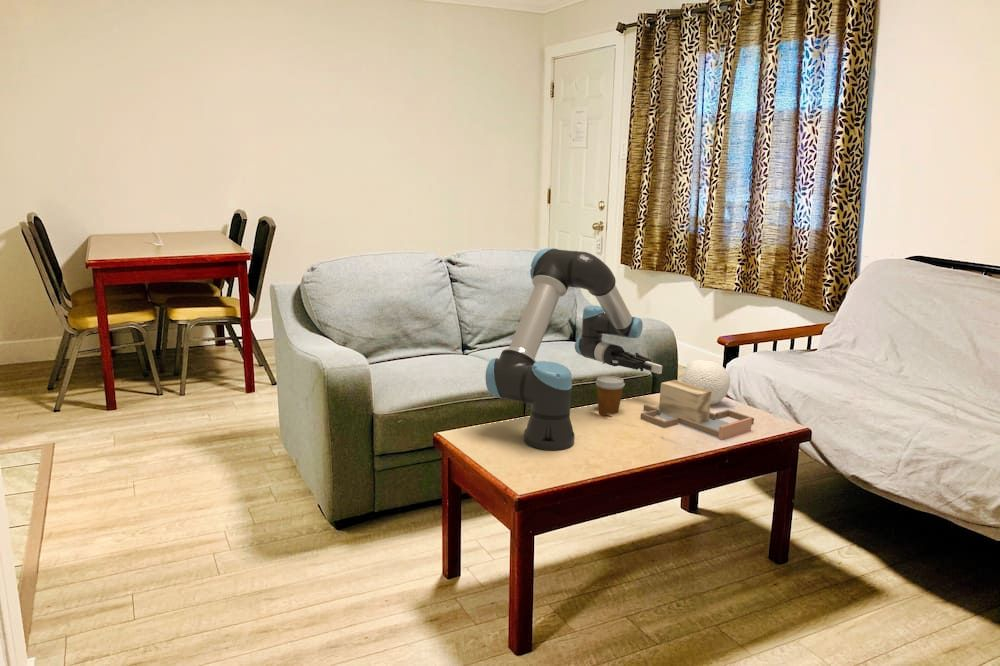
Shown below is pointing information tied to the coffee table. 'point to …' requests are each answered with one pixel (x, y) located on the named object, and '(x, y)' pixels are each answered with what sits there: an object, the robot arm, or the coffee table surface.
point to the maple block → (685, 401)
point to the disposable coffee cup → (609, 394)
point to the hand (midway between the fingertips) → (660, 369)
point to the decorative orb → (708, 378)
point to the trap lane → (709, 428)
